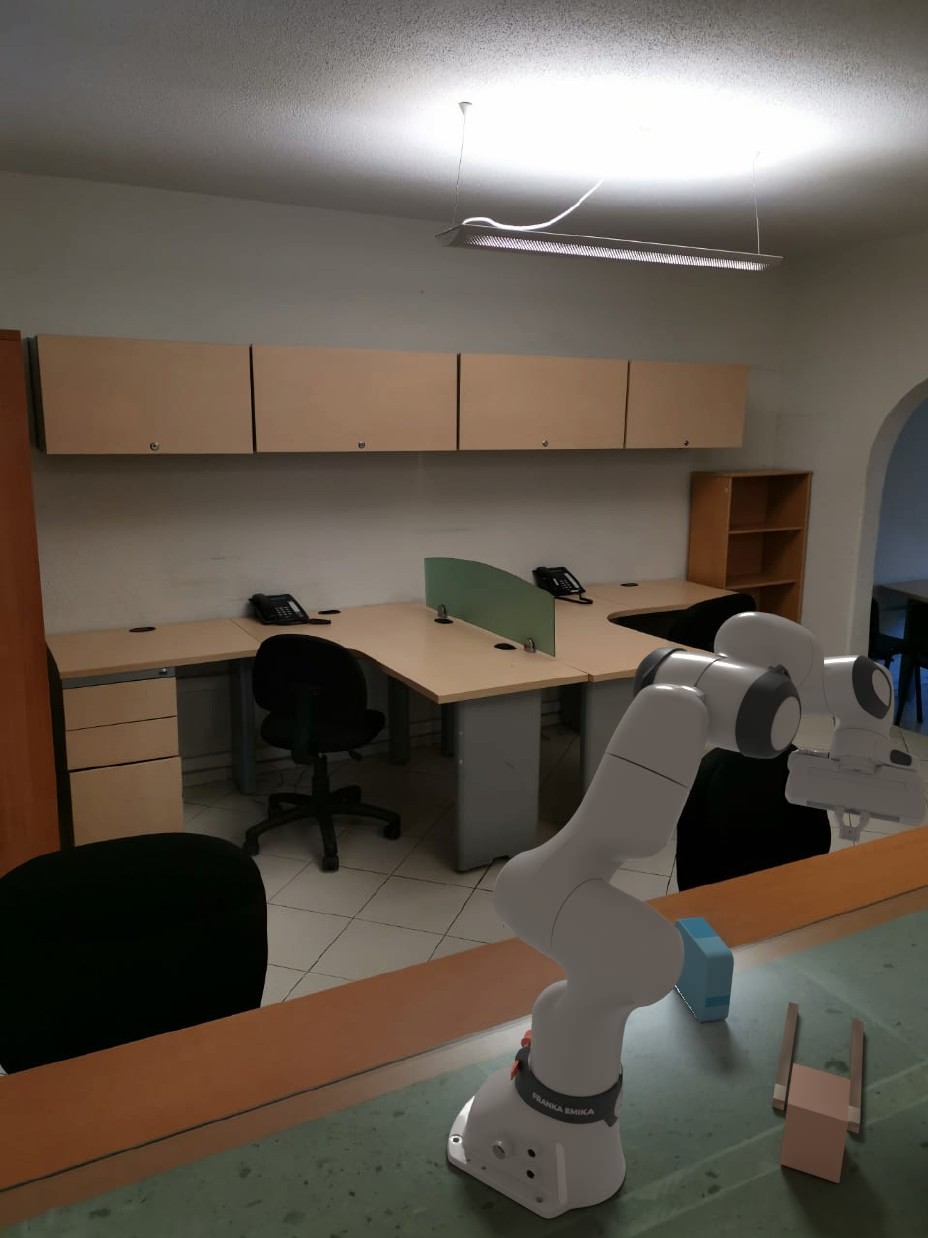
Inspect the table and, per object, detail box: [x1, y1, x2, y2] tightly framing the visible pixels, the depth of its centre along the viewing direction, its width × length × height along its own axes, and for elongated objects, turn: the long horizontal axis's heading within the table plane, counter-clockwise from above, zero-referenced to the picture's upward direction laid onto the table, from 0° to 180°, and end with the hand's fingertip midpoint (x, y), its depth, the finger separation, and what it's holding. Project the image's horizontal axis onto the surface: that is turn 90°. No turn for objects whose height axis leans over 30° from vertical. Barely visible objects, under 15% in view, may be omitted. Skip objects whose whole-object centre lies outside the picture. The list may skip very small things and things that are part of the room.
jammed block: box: [779, 1062, 850, 1184], centre depth 119 cm, size 7×8×9 cm
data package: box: [673, 916, 735, 1023], centre depth 149 cm, size 12×4×12 cm, turn 12°
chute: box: [771, 1001, 865, 1134], centre depth 136 cm, size 11×23×2 cm, turn 156°
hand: (848, 839), depth 142 cm, fingers closed
